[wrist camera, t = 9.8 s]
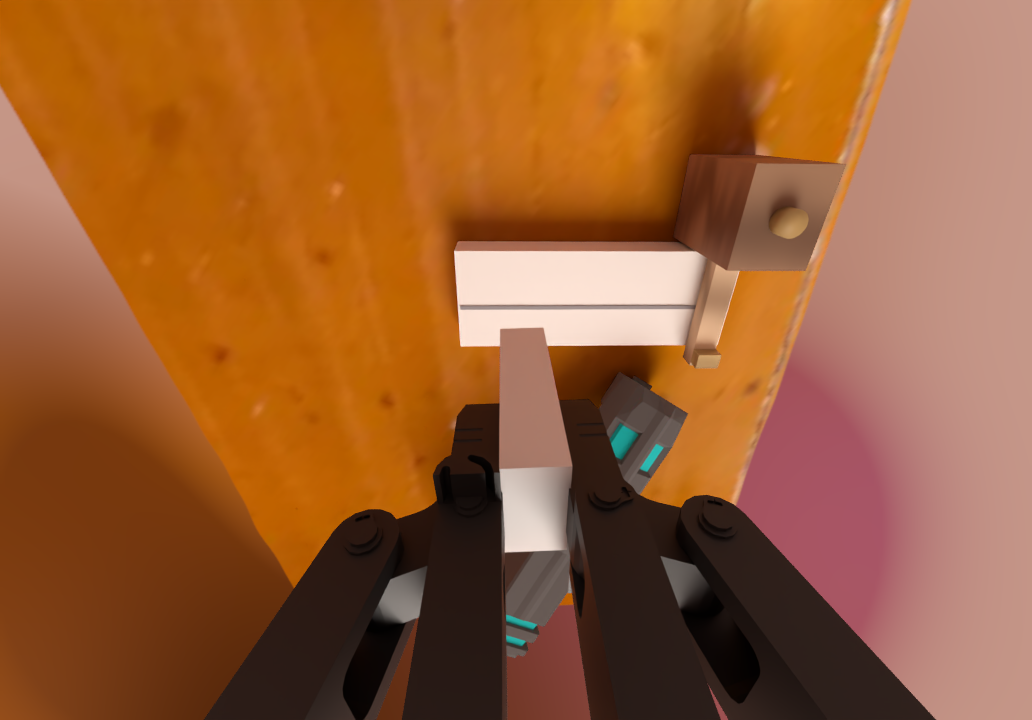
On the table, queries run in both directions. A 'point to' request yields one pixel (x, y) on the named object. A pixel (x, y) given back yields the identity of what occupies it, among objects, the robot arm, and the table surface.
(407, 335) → the table surface
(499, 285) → the board
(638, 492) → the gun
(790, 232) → the brown wooden clamp
